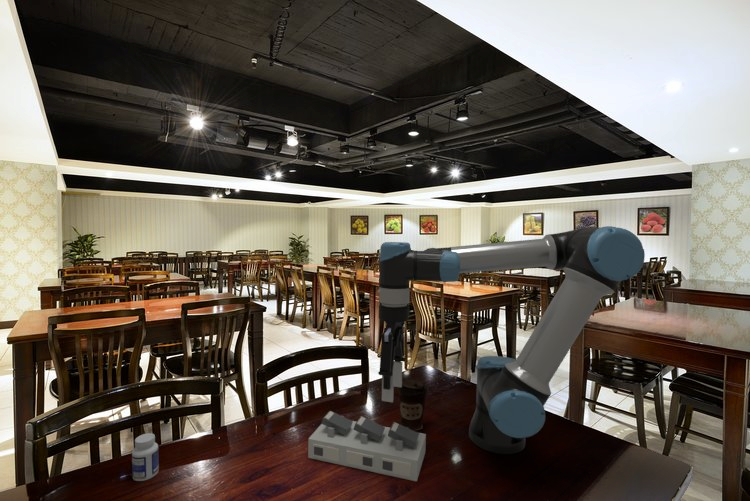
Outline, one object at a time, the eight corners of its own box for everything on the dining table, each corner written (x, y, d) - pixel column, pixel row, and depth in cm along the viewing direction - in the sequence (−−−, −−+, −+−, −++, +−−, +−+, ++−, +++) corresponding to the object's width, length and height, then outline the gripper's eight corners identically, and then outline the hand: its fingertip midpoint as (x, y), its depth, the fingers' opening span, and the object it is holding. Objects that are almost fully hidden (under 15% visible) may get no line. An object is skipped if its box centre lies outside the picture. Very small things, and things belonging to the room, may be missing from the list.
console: (425, 452, 97) (426, 425, 97) (416, 482, 85) (417, 452, 85) (327, 433, 106) (328, 408, 105) (307, 458, 94) (307, 431, 93)
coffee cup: (425, 435, 105) (426, 391, 105) (396, 432, 107) (397, 388, 106) (427, 420, 114) (428, 379, 113) (400, 417, 116) (401, 376, 115)
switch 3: (416, 441, 94) (419, 432, 94) (412, 452, 90) (415, 442, 89) (391, 429, 96) (394, 420, 96) (386, 439, 91) (389, 430, 91)
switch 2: (382, 435, 97) (385, 426, 97) (377, 445, 92) (380, 436, 92) (358, 423, 99) (361, 414, 99) (352, 433, 94) (354, 424, 94)
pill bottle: (153, 464, 91) (153, 429, 90) (162, 473, 87) (162, 436, 87) (128, 475, 86) (128, 438, 86) (137, 485, 83) (136, 446, 83)
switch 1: (350, 429, 100) (353, 420, 99) (343, 439, 95) (346, 429, 95) (327, 418, 102) (330, 409, 101) (319, 427, 97) (322, 418, 96)
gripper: (390, 296, 103) (388, 376, 104) (366, 311, 83) (364, 409, 84) (416, 298, 101) (415, 379, 102) (398, 313, 81) (396, 415, 82)
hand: (392, 393), depth 93 cm, fingers open, 8 cm apart
